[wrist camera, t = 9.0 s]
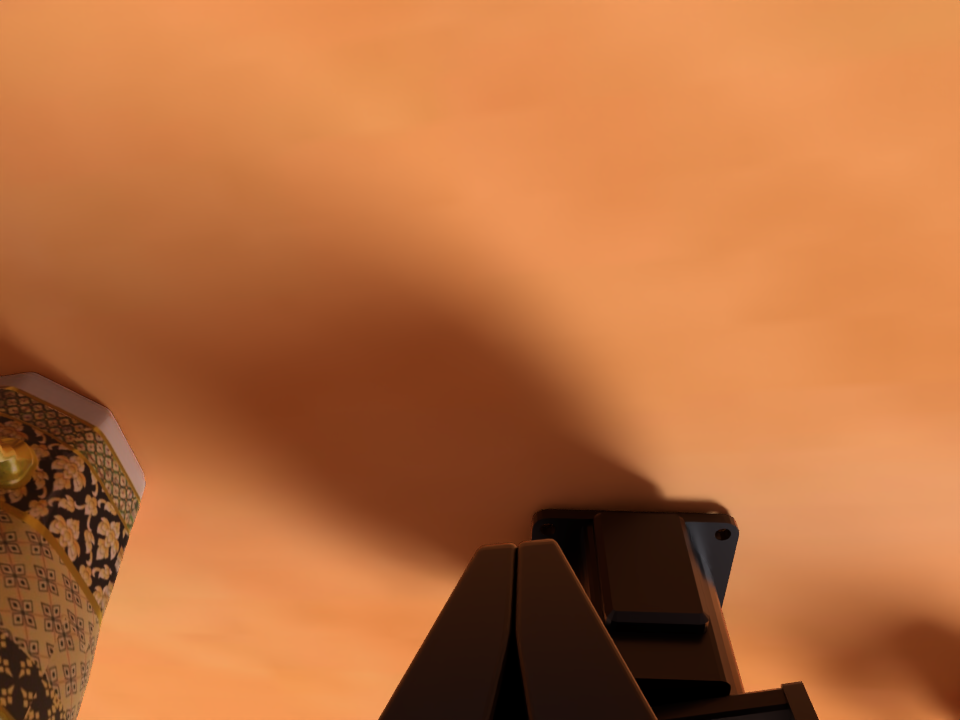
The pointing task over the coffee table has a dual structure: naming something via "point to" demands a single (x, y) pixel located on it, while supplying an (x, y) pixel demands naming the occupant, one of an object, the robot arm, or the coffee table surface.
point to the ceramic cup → (57, 540)
